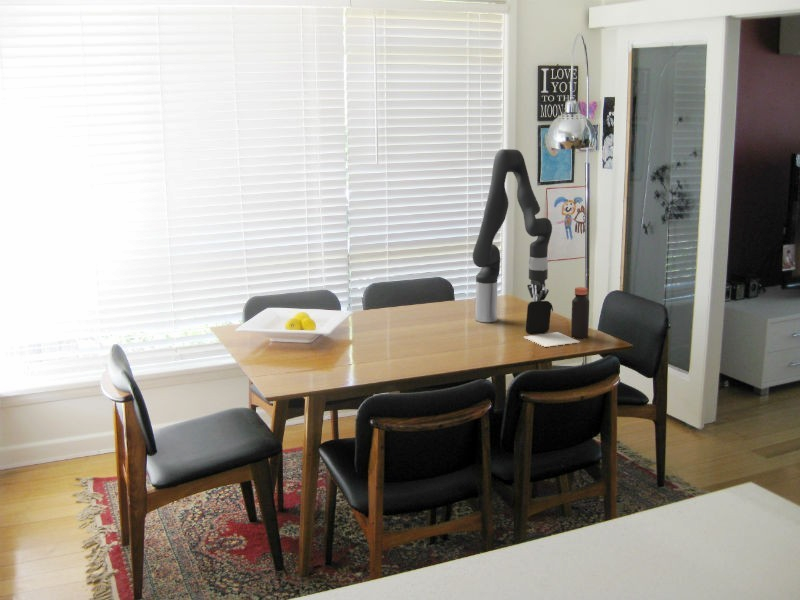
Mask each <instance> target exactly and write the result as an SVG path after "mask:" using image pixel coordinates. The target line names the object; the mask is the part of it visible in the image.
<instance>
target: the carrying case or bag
mask: <svg viewBox="0 0 800 600" xmlns="http://www.w3.org/2000/svg"><path fill="white" fill-rule="evenodd" d="M553 307H554V306H553V305H552V303H551V302H550V301H548V300H542V301H534V300H533V301H530V302H528V304H527V309H526V310H527V311H526V321H525V332H526V333H527V335H539V334H546V333H549V330H550V322H551V315H552V314H551V312H554V308H553Z"/></svg>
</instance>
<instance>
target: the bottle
mask: <svg viewBox="0 0 800 600" xmlns="http://www.w3.org/2000/svg"><path fill="white" fill-rule="evenodd" d="M574 296H575V297H574V298H573V299H572V301H571V320H570V322H571V323H570V336H571V338H573V337H574V338H573V339H577V338H580V339H579V340H581V339H582V340H584V339H583V338H585V339H587V338H588V337H589V322H590V300H589V298H588V297H587V296H588V287H583V286H578V287H575V288H574Z"/></svg>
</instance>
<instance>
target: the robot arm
mask: <svg viewBox="0 0 800 600" xmlns="http://www.w3.org/2000/svg"><path fill="white" fill-rule="evenodd" d="M508 173H513V175H514V177H515V179H516V182H517V191H516V192H517V193H516V198H517V202H518V205H519V207H520V209H521V212H522V214H523V221H524V228H525V231H526V233H527V234H528V235H529V236H530V237H532V238H533V237H534V238H535V237H536V240H534V241H533V242H531V243H530V244H529V260H528V279H529V280H530V284H527V290H528V292H529V295H530V298H532V299H533V301H545V299H546V297H547V296H548V294H549V291H550V290H549V288H548V289H547V288H546V280H548V276H549V275H548V274H549V271H548V270H549V269H548V268H549V261H548V246H549V243H550V240H551V235H552V233H553V224H552V222H551V220H550V219H549V218H548V217H541V218H538V217H537V218H536V215H538V214H539V213H540V211H541V207H540V204H539V202H538V199H537V197H536V196H535V193H534V190H533V188H532V184H531V181H530V177H529V173H528V169H527V165H526V161H525V158H524V155H523V154H522V152H521V151H520V150H519V149H514V148H513V149H512V148H511V149H510V148H509V149H508V148H506V149H503V148H502V149H499V150H498V151H497V152H496V154H495V156H494V158H493V165H492V171H491V181H490V185H489V191H488V195H487V199H486V202H485V203H486V204H485V208H484V212H483V216H482V217H483V218H482V220H481V221H482V222H481V226H480V230H479V233H478V235H477V236H478V237H477V240H476V243H475V245H474V248H473V252H472V262H473V264H474V265H475V266H476V267H479V268H481V269H480V271H479V272H478V273H477V274H476V276H475V298H474V299H475V309H474V310H475V311H474V312H475V313H474V315H475V316H474V317H475V321H476V322H479V323H494V322H497V320H498V278H499V276H500V270H501V269H500V268H501V252H500V249H499V248H498V246H497V245H496V244H493V242H494V239H495V236H496V235H497V234H498V232H499V230H500V229H501V228H502V226H503V224H504V223H505V220H506V218H507V214H508V209H509V198H508V195H507V191H506V179H507V175H508Z"/></svg>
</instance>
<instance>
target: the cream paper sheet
mask: <svg viewBox="0 0 800 600" xmlns="http://www.w3.org/2000/svg"><path fill="white" fill-rule="evenodd" d="M523 338H524V339H525V340H527V339H528V340H527V341H529V340H530V341H529V342H531V341H532V343H534V342H535V343H534V344H536V343H537V344H536V345H538V344H539V345H538V346H540V345H541V346H540V347H542V346H544V347H549V348H551V347H550V346H556V347H559V346H558V345H563V346H566V345H565V344H570V345H573V344H572V343H577V344H580V343H581V341H580V340H578V339H576V338H573V337H570V336H568V335H565V334H564V333H561V332H558V331H555V332H554V331H553V332H547V333H545V334H530V335H524V336H523ZM579 342H580V343H579ZM544 347H543V348H544Z"/></svg>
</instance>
